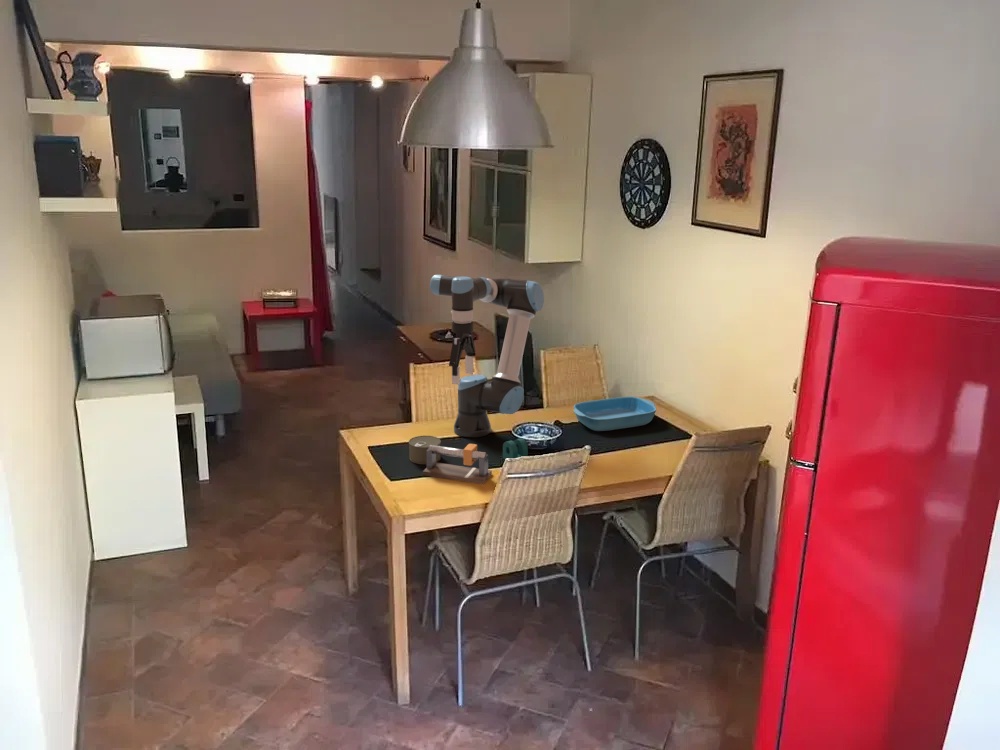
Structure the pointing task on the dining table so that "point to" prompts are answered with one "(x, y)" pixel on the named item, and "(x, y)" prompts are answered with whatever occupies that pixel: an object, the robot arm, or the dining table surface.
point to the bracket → (515, 448)
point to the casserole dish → (615, 413)
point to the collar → (469, 454)
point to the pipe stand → (454, 470)
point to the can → (422, 448)
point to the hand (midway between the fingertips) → (462, 378)
